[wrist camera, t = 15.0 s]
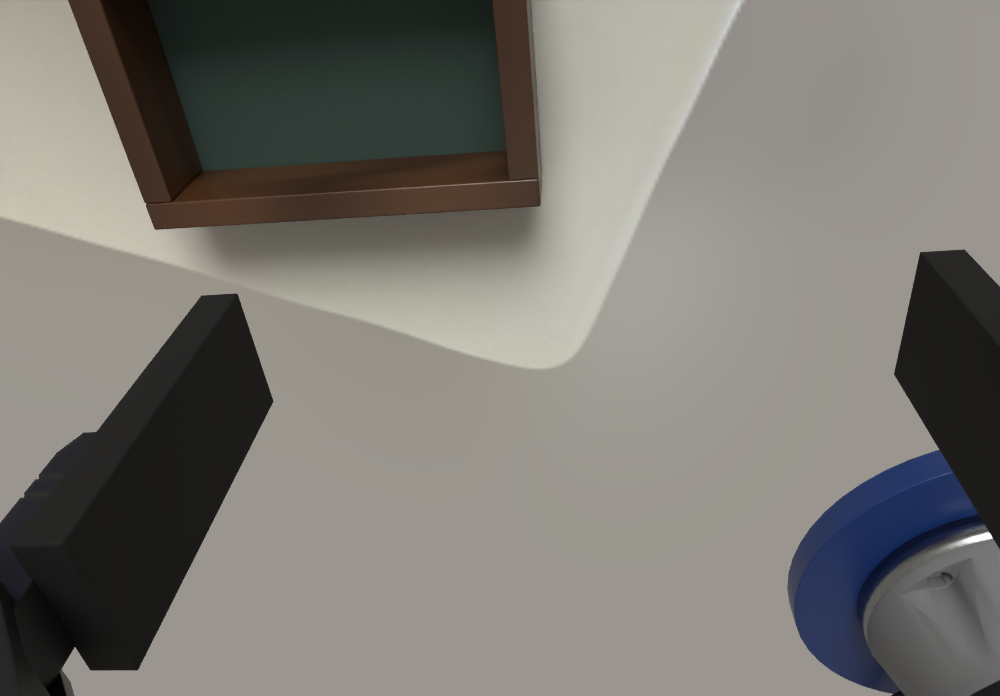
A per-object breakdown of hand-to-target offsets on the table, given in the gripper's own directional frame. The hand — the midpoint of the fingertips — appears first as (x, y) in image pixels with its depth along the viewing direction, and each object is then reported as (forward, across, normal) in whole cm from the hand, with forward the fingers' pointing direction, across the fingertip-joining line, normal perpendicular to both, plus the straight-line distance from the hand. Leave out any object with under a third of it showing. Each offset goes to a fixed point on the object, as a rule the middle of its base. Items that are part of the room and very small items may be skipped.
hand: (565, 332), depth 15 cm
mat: (+20, -9, +1) cm, 22 cm away
